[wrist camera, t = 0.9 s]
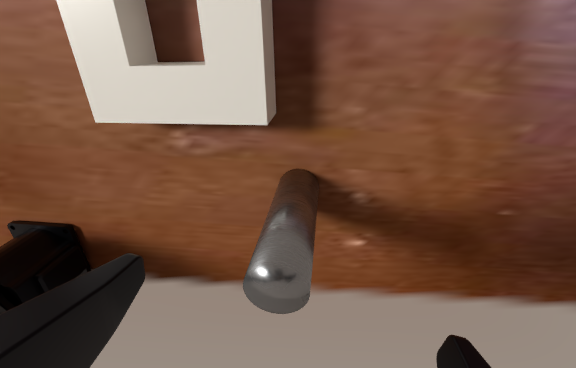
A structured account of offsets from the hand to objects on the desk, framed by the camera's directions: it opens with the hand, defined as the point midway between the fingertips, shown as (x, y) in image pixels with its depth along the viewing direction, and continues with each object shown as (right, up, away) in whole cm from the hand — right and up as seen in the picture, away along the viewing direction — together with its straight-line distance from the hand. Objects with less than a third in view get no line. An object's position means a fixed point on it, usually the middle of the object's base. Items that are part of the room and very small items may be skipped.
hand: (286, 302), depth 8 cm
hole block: (-6, +13, +9) cm, 17 cm away
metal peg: (+1, +3, +13) cm, 14 cm away
